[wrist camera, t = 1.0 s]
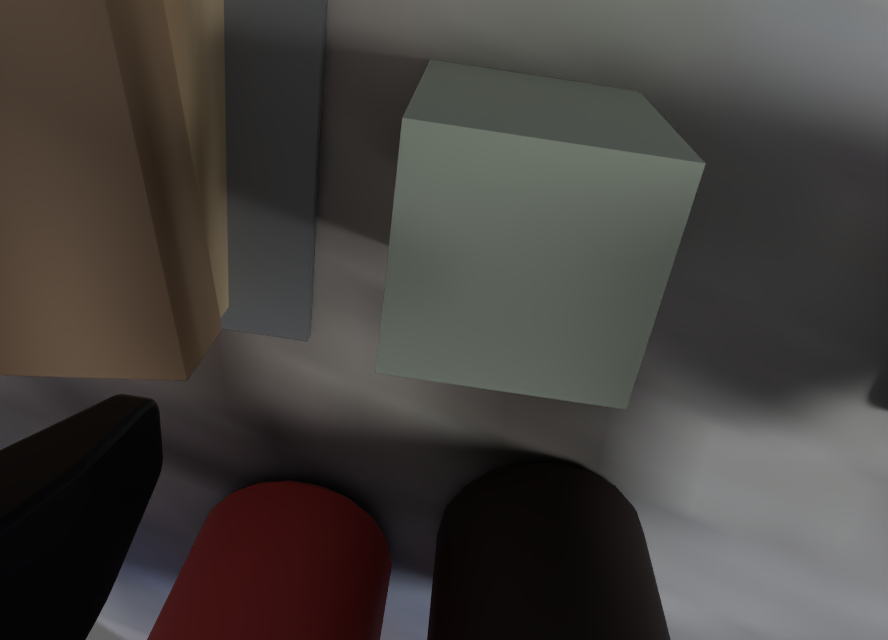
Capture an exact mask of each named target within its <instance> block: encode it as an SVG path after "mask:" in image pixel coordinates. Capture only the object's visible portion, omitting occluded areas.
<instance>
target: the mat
mask: <svg viewBox="0 0 888 640" xmlns="http://www.w3.org/2000/svg"><path fill="white" fill-rule="evenodd" d="M326 12H327V0H224V47H225V109H226V172H227V235H228V297H229V307H228V309H227V310H226V311H225V313H224V314H223V316H222V317H221V324H222V329H226V330H233V331H240V332H247V333H253V334H260V335H267V336H274V337H280V338H287V339H294V340H301V341H308V339H309V337H310V335H311V316H312V296H313V275H314V255H315V235H316V215H317V194H318V174H319V154H320V134H321V114H322V93H323V73H324V53H325V33H326Z"/></svg>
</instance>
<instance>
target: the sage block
mask: <svg viewBox="0 0 888 640" xmlns="http://www.w3.org/2000/svg"><path fill="white" fill-rule="evenodd" d="M705 164H706V163H705V162H704V161H703V160H702V159H701V158H700V157H699V156H698V155H697V154H696V152H695V151H694V150H693V149H692V148H691V147H690V146H689V145H688V144H687V143H686V142H685V140H684V139H683V138H682V137H681V136H680V135H679V134H678V133H677V132H676V131H675V130H674V128H673V127H672V126H671V125H670V124H669V123H668V122H667V121H666V120H665V119H664V118H663V117H662V115H661V114H660V113H659V112H658V111H657V110H656V109H655V108H654V107H653V106H652V105H651V103H650V102H649V101H648V100H647V99H646V98H645V97H644V96H643V95H642V94H641V93H640V91H635V90H628V89H621V88H615V87H608V86H602V85H595V84H589V83H582V82H575V81H569V80H562V79H556V78H549V77H543V76H536V75H529V74H523V73H516V72H510V71H503V70H497V69H490V68H484V67H477V66H470V65H464V64H457V63H451V62H444V61H438V60H431V59H430V61H429V63H428V65H427V67H426V69H425V72H424V74H423V76H422V78H421V80H420V82H419V84H418V86H417V88H416V90H415V92H414V94H413V97H412V99H411V101H410V103H409V105H408V107H407V109H406V111H405V113H404V115H403V117H402V126H401V135H400V145H399V154H398V164H397V173H396V183H395V192H394V202H393V212H392V221H391V231H390V240H389V250H388V259H387V269H386V278H385V288H384V298H383V307H382V317H381V326H380V336H379V345H378V355H377V364H376V373H379V374H386V375H393V376H400V377H407V378H414V379H420V380H427V381H434V382H441V383H448V384H455V385H462V386H468V387H475V388H482V389H489V390H496V391H503V392H510V393H516V394H523V395H530V396H537V397H544V398H551V399H557V400H564V401H571V402H578V403H585V404H592V405H599V406H605V407H612V408H619V409H627V406H628V403H629V400H630V397H631V394H632V391H633V388H634V385H635V381H636V378H637V375H638V372H639V369H640V366H641V363H642V360H643V357H644V353H645V350H646V347H647V344H648V341H649V338H650V335H651V332H652V329H653V326H654V322H655V319H656V316H657V313H658V310H659V307H660V304H661V301H662V298H663V294H664V291H665V288H666V285H667V282H668V279H669V276H670V273H671V270H672V267H673V263H674V260H675V257H676V254H677V251H678V248H679V245H680V242H681V239H682V235H683V232H684V229H685V226H686V223H687V220H688V217H689V214H690V211H691V208H692V204H693V201H694V198H695V195H696V192H697V189H698V186H699V183H700V180H701V177H702V173H703V170H704V167H705Z"/></svg>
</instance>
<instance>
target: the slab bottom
mask: <svg viewBox="0 0 888 640" xmlns="http://www.w3.org/2000/svg"><path fill="white" fill-rule="evenodd" d="M163 1H164V6H165V12H166V18H167V23H168V29H169V34H170V40H171V45H172V51H173V57H174V62H175V68H176V73H177V79H178V84H179V90H180V96H181V101H182V107H183V112H184V118H185V123H186V129H187V135H188V140H189V146H190V151H191V157H192V162H193V168H194V174H195V179H196V185H197V190H198V196H199V201H200V207H201V213H202V218H203V224H204V229H205V235H206V240H207V246H208V252H209V257H210V263H211V268H212V274H213V279H214V285H215V291H216V296H217V302H218V307H219V313H220V318H221V317H222V316H223V314H224V313H225V311H226V310H227V309H228V307H229V297H228V235H227V172H226V109H225V47H224V0H163Z"/></svg>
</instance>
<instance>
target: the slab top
mask: <svg viewBox="0 0 888 640" xmlns="http://www.w3.org/2000/svg"><path fill="white" fill-rule="evenodd" d="M221 330H222V324H221V318H220V313H219V307H218V302H217V296H216V291H215V285H214V279H213V274H212V268H211V263H210V257H209V252H208V246H207V240H206V235H205V229H204V224H203V218H202V213H201V207H200V201H199V196H198V190H197V185H196V179H195V174H194V168H193V162H192V157H191V151H190V146H189V140H188V135H187V129H186V123H185V118H184V112H183V107H182V101H181V96H180V90H179V84H178V79H177V73H176V68H175V62H174V57H173V51H172V45H171V40H170V34H169V29H168V23H167V18H166V12H165V6H164V1H163V0H0V375H13V376H46V377H78V378H111V379H143V380H175V381H187V380H188V379H189V377H190V376H191V374H192V373H193V371H194V370H195V368H196V367H197V365H198V364H199V362H200V361H201V359H202V358H203V357H204V355H205V354H206V352H207V351H208V349H209V348H210V346H211V345H212V343H213V342H214V340H215V339H216V338H217V336H218V335H219V333H220V332H221Z"/></svg>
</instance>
